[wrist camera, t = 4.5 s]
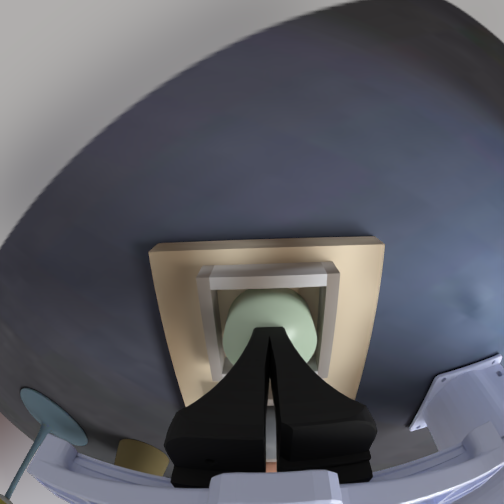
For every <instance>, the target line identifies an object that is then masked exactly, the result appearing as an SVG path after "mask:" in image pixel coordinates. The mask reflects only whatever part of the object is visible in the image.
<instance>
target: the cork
mask: <svg viewBox="0 0 504 504" xmlns="http://www.w3.org/2000/svg"><path fill="white" fill-rule="evenodd" d="M168 463H169V458H168V457H167V456H166V455H165V454H164V453H163V452H161V451H160V450H158V449H157V448H155V447H153V446H151V445H149V444H146V443H144V442H140V441H137V440H132V439H122V440H121V441H120V442H119V446H118V450H117V454H116V458H115V463H114V465H116V466H120V467H123V468H127V469H131V470H135V471H139V472H143V473H147V474H152V475H157V476H163V474H164V472H165V470H166V468H167V465H168Z"/></svg>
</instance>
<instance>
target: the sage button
mask: <svg viewBox="0 0 504 504" xmlns="http://www.w3.org/2000/svg"><path fill="white" fill-rule="evenodd" d="M256 327H284V328H285V331H286V333H287V335H288V337H289V339H290V340H291V342H292V344H293V345H294V347H295V348H296V350H297V351H298V353H299V354H300V355H301V357H302V358H303V359H304V360H305V362H306V363H307V362H308V361H309V360H310V358H311V357H312V355H313V354H314V351H315V349H316V344H317V335H316V331H315V327H314V323H313V320H312V316H311V313H310V310H309V307H308V305H307V303H306V301H305V300H304V299H303V298H302V297H301V296H300V295H299V294H298V293H297V292H295V291H294V290H292V289H290V288H270V289H248V290H246V291H244V292H243V293H241V294H240V295H239V296H238V297H237V298H236V299H235V300H234V301H233V303H232V304H231V306H230V308H229V312H228V315H227V320H226V325H225V330H224V334H223V348H224V352H225V354H226V356H227V358H228V359H229V361H230V362H231V363H232V364H233V365H234V364H235V363H236V362H237V360H238V359H239V357H240V356H241V354H242V353H243V351H244V349H245V347H246V346H247V344H248V342H249V340H250V338H251V335H252V333H253V329H254V328H256Z"/></svg>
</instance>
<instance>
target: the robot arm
mask: <svg viewBox="0 0 504 504" xmlns="http://www.w3.org/2000/svg"><path fill="white" fill-rule="evenodd" d="M501 359H502V355H501V354H498V355H496V356H493V357H491V358H488V359H485V360H483V361H480V362H477V363H474V364H471V365H469V366H466V367H463V368H459V369H456V370H453V371H450V372H446V373H443V374H440V375H437V376H436V377H435V378H434V380H433V382H432V384H431V387H430V389H429V391H428V393H427V395H426V397H425V399H424V401H423V403H422V405H421V407H420V409H419V411H418V412H417V414H416V416H415V418H414V420H413V421H412V423H411V425H410V427H409V429H410V431H414V430H417V429H421V428H424V427H428V429H429V431H430V433H431V435H432V437H433V439H434V442H435V444H436V446H437V448H438V451H439V452H437V453H434V454H431V455H429V456H426V457H423V458H420V459H417V460H414V461H411V462H408V463H405V464H402V465H398V466H395V467H391V468H388V469H384V470H380V471H376V472H372V470H371V466H370V462H369V460H370V459H371V455H370V452H369V449H370V447H371V445H372V443H373V441H374V439H375V437H376V434H377V428H376V424H375V422H374V419H373V417H372V415H371V414H370V412H369V410H368V408H367V407H366V406H365V405H363V404H361V403H359V402H357V401H355V400H353V399H351V398H349V397H347V396H345V395H344V394H342V393H340V392H339V391H337V390H336V389H335V388H333V387H332V386H330V385H329V384H328V383H326V382H325V381H324V380H323V379H322V378H321V377H320V376H319V375H317V374H316V373H315V372H314V371H313V370H312V368H311V367H310V366H309V365H308V364H307V363H306V362H305V360H304V359H303V358H302V357H301V355H300V354H299V353H298V351H297V350H296V348H295V347H294V345H293V344H292V342H291V340H290V339H289V337H288V335H287V333H286V331H285V328H284V327H256V328H254V329H253V333H252V335H251V338H250V340H249V342H248V344H247V346H246V347H245V349H244V351H243V353H242V354H241V356H240V357H239V359H238V360H237V362H236V363H235V364H234V366H233V367H232V368H231V370H230V371H229V372H228V373H227V374H226V375H225V377H224V378H223V379H222V380H221V381H220V382H219V383H218V384H217V385H216V386H214V387H213V388H212V389H211V390H210V391H209V392H207V393H206V394H205V395H203V396H202V397H201V398H199V399H198V400H197V401H195V402H194V403H192V404H190V405H189V406H187V407H185V408H183V409H182V410H180V411H178V412H177V413H176V414H175V416H174V418H173V420H172V422H171V424H170V426H169V429H168V432H167V435H166V439H165V442H164V447H165V450H166V452H167V454H168V455H169V457H170V459H171V461H172V462H173V464H174V469H173V473H172V477H171V478H167V477H162V476H157V475H152V474H147V473H143V472H139V471H135V470H131V469H127V468H123V467H120V466H116V465H113V464H110V463H107V462H103V461H100V460H97V459H94V458H92V457H89V456H86V455H83V454H81V453H78V452H77V450H76V449H75V448H74V446H73V445H71V444H70V443H69V442H67V441H66V440H63V439H61V438H59V437H56V436H54V435H52V434H49V433H48V434H47V436H46V437H45V439H44V441H43V442H42V444H41V446H40V447H39V449H38V451H37V453H36V454H35V456H34V458H33V460H32V461H31V463H30V465H29V467H28V469H27V472H28V473H29V474H31V475H32V476H33V477H34V478H35V479H36V480H37V481H39V482H40V483H41V484H42V485H43V486H45V487H46V488H47V489H48V490H50V491H51V492H52V493H53V494H55V495H56V496H58V497H59V498H61V499H63V500H65V501H67V502H69V503H71V504H504V368H503V367H502V366H501V365H500V361H501ZM270 382H271V389H272V396H273V404H274V411H275V420H276V460H277V472H267V473H266V413H267V404H268V394H269V383H270Z"/></svg>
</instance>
